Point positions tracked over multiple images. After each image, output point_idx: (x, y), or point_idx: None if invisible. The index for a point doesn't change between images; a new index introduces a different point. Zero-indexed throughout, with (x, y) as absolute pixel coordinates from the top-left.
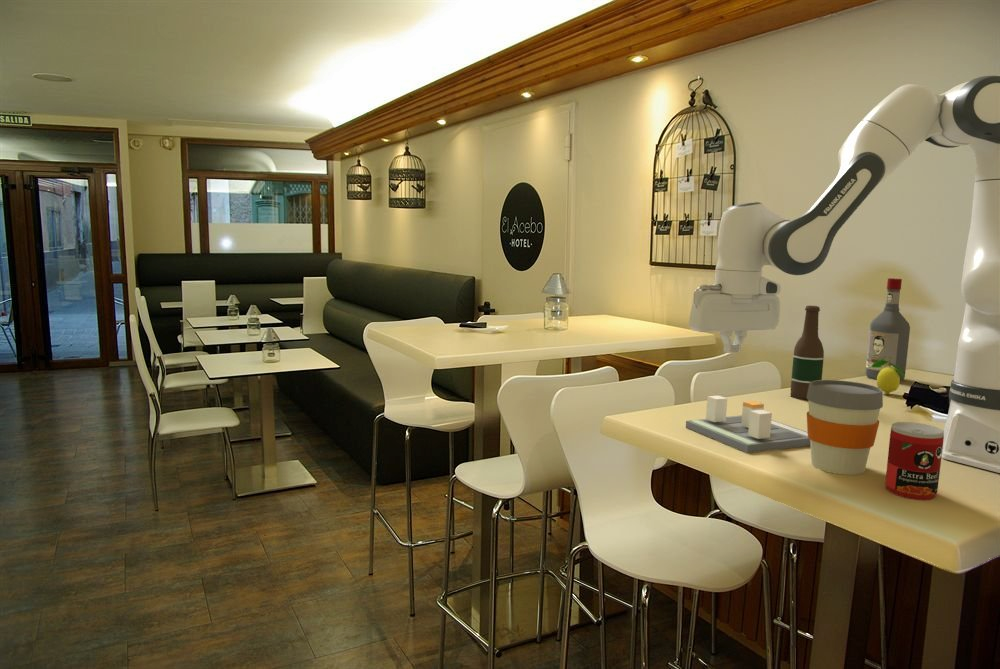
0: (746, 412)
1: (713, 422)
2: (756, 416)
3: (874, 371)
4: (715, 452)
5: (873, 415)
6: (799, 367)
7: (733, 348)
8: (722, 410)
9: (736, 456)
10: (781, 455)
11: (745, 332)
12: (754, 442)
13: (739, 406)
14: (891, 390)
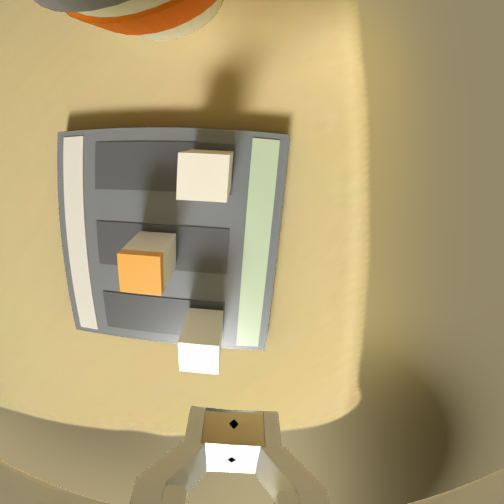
0: (167, 267)
1: None
2: (229, 169)
3: None
4: (351, 172)
5: None
6: None
7: (248, 426)
8: (197, 324)
9: (330, 128)
10: (220, 89)
11: (145, 500)
12: (254, 143)
13: (61, 389)
14: None
